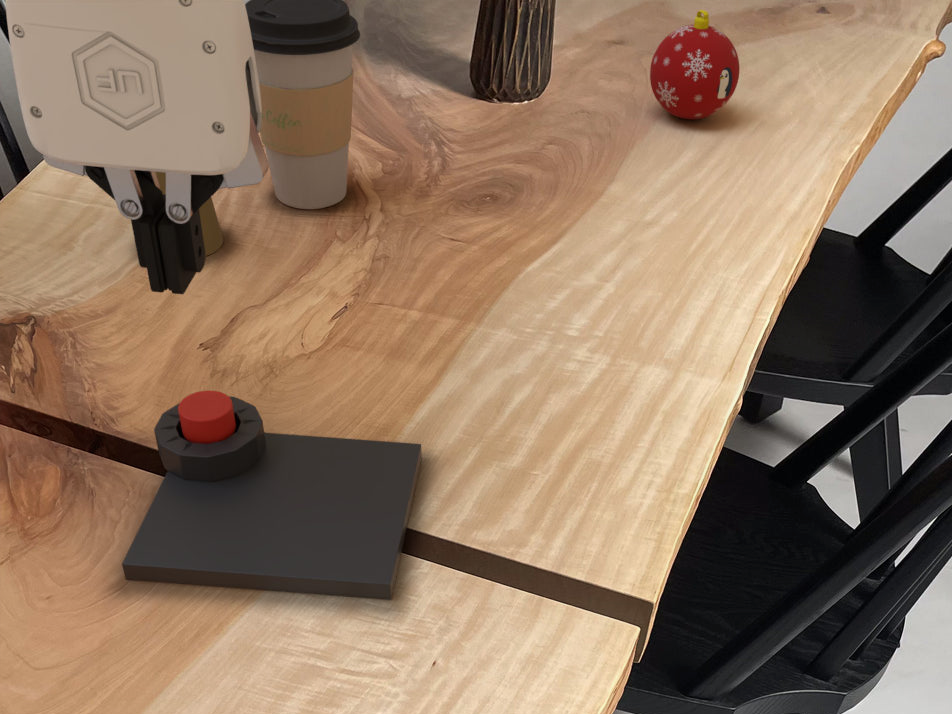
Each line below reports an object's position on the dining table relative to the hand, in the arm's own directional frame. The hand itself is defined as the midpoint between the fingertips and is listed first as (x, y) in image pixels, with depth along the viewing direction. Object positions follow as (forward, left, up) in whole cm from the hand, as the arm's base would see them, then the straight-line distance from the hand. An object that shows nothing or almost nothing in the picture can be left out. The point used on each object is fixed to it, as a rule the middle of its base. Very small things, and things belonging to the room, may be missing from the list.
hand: (176, 279), depth 58 cm
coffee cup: (-1, +37, -12) cm, 39 cm away
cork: (-9, +27, -12) cm, 31 cm away
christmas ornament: (+32, +60, -12) cm, 68 cm away
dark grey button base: (+6, -4, -12) cm, 14 cm away
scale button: (+1, 0, -9) cm, 9 cm away
